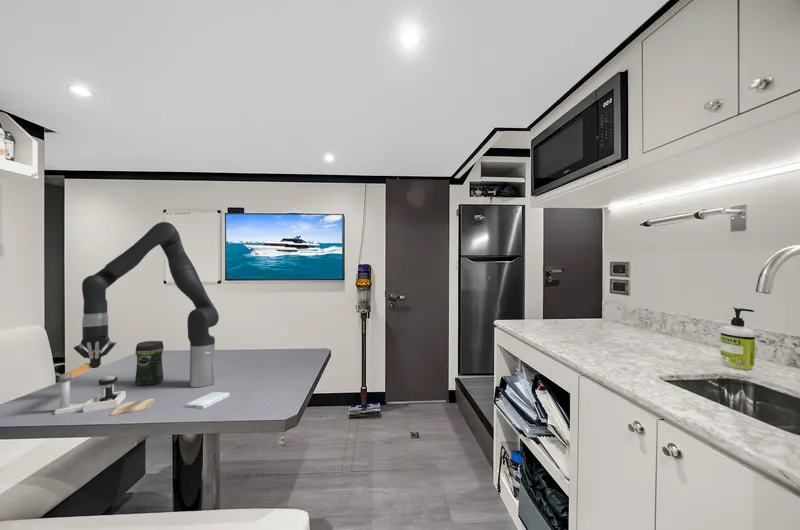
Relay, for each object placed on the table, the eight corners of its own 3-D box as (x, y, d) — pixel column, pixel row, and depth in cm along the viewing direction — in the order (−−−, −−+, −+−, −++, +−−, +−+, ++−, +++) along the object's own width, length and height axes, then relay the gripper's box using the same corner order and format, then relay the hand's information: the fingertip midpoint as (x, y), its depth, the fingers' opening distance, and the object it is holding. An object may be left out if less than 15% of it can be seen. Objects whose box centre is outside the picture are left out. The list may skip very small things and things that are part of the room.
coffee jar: (166, 379, 145) (167, 339, 146) (154, 385, 137) (155, 342, 138) (144, 380, 145) (145, 339, 145) (131, 386, 137) (131, 343, 137)
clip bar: (68, 380, 112) (68, 375, 112) (57, 381, 111) (57, 376, 111) (94, 367, 129) (94, 362, 129) (84, 368, 128) (84, 363, 128)
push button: (101, 408, 114) (102, 380, 114) (89, 407, 115) (90, 379, 115) (120, 401, 120) (121, 374, 121) (109, 400, 121) (109, 374, 122)
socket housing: (125, 397, 124) (126, 370, 125) (116, 407, 115) (117, 378, 115) (66, 406, 116) (66, 377, 117) (51, 417, 107) (51, 386, 107)
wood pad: (153, 400, 121) (153, 398, 121) (147, 409, 112) (147, 407, 112) (119, 405, 116) (119, 403, 116) (110, 415, 107) (110, 413, 107)
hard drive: (212, 391, 126) (184, 403, 114) (229, 392, 124) (203, 405, 112) (212, 395, 126) (184, 408, 114) (229, 397, 124) (203, 410, 112)
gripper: (120, 321, 134) (120, 363, 133) (79, 324, 129) (78, 367, 128) (112, 324, 127) (112, 367, 126) (68, 327, 122) (68, 372, 121)
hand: (95, 367), depth 127 cm, fingers closed
